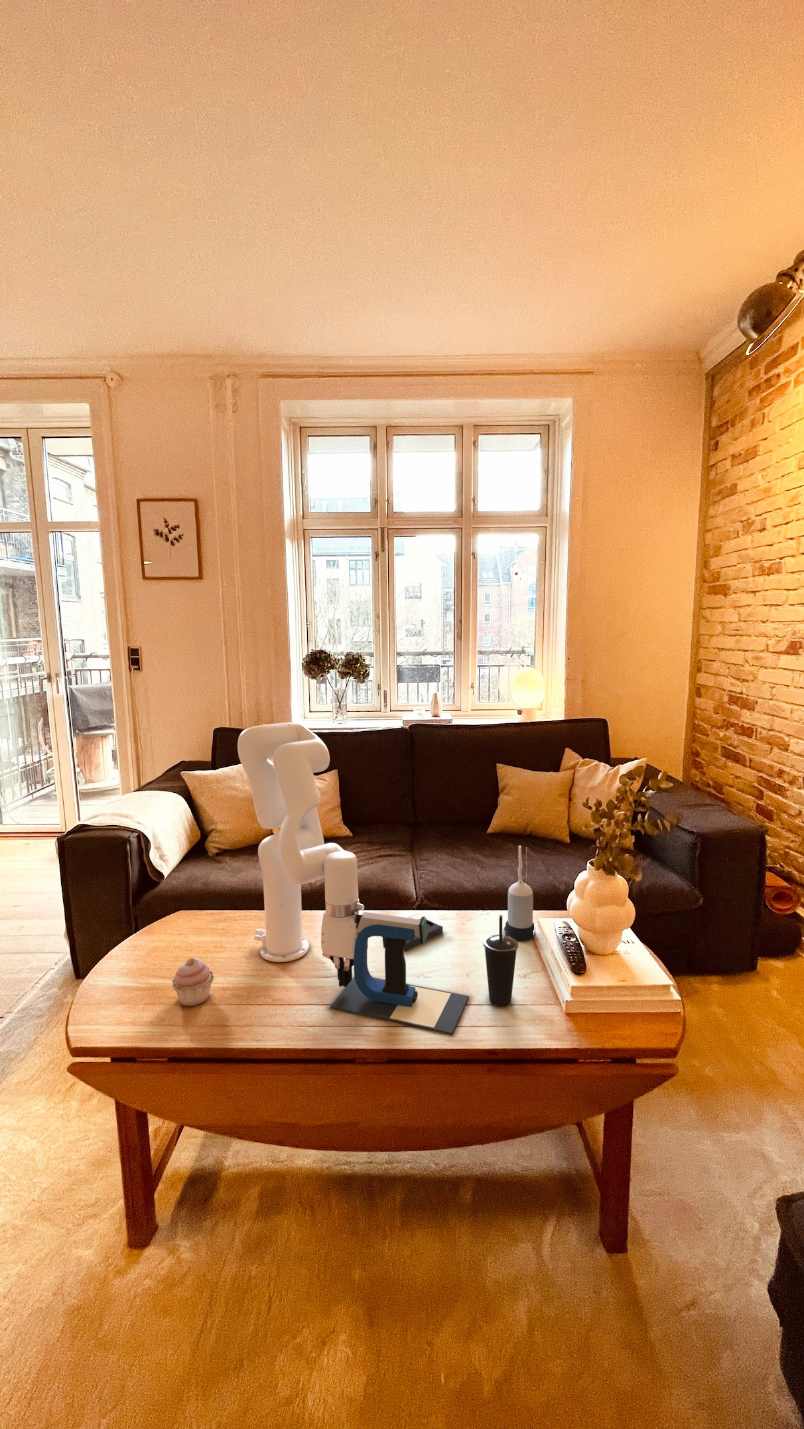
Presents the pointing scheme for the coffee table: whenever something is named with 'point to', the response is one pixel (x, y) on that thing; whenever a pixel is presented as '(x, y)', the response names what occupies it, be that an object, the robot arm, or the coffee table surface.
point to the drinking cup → (500, 966)
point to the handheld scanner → (387, 956)
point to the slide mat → (426, 1012)
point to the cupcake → (193, 982)
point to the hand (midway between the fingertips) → (345, 983)
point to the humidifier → (520, 908)
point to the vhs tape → (432, 932)
